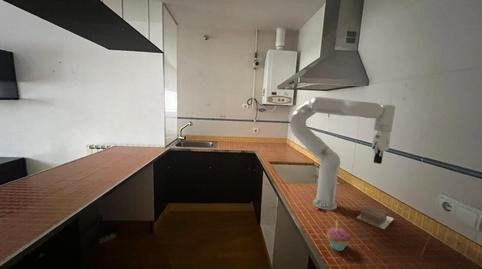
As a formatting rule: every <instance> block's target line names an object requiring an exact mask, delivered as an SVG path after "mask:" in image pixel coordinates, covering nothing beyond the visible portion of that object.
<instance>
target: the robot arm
mask: <svg viewBox="0 0 482 269" xmlns="http://www.w3.org/2000/svg"><path fill="white" fill-rule="evenodd" d="M395 111H396V106H395V105H393V104H380V103H376V102H369V101H359V100H349V99H341V98H333V97H323V96H315V97H312V98H311V99H309V100H308V101H306V102H305V103H303V104H302V105H301V106H299V107H297V108H296V109H294V110H293V111H292V112H291V115H290V121H289V124H290V125H289V128H290V130H291V133H292V134H293V136H294V137H295V138H296V139H297V140H298V141H299V142H300V143H301V144H302V145H303V146H304V147H305V148H306V150H307V151H308V152H309V153H311V154H312V155H314V156H315V158H317V160H319V161H320V166H319V171H318V180H317V189H316V197H315V198H314V199H313V201H312V205H313V206H315V207H317V208H319V209H321V210H326V211H334V210H336V209H337V207H338V205H337V204H336V203H335V199H336V191H337V190H336V189H337V184H338V175H339V170H340V166H341V157H340V156H339V155H338V153H337V152H336V151H334V150H333V149H332V148H330V147H329V145H327V144H326V142H324V140H323V139H321V137H319V136H318V135H316V134H315V132H313V131H312V130H311V129H310V128H309V127H308V125H307V120H308V119H309V118H311V117H312V116H314V115H315V114H316V113H319V114H325V115H334V116H343V117H357V118H365V119H375V120H374V125H373V126H374V128H373V131H374V134H373V138H372V139H373V140H372V144H371V149H372V150H373V153H374V157H373V163H375V164H379V165H381V164H382V162H383V157H384V152H386V151H389V149H390V142H391V133H392V129H393V124H394V123H393V122H394V118H395Z"/></svg>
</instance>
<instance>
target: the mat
mask: <svg viewBox="0 0 482 269" xmlns="http://www.w3.org/2000/svg"><path fill="white" fill-rule="evenodd" d="M360 216H361V214H359V215H358V216H357V217H356V219H358V220H360ZM394 219H395V218H393V217H391V216H388V215H387V219H386V220H385V221H384V223H383V224H382V225H381V226H380V227H379V228H380V229H383V230H385V229H386V228H387V227H388V226H389V225H390V224H391V223H392V221H393V220H394Z"/></svg>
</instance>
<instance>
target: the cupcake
mask: <svg viewBox="0 0 482 269" xmlns="http://www.w3.org/2000/svg"><path fill="white" fill-rule="evenodd" d="M338 226H339V221H338V219H336V220H335V227H331V228H329V229H327V231H326V237H327V239H328V240H329V244H330V247H331V248H332V249H334V250H335V251H339V252H342V251H344V249H345V248H346V247H347V245H350V243H351V236H350V234H348V232H347V231H345V229H344V228H343V229H342V228H340V227H338Z"/></svg>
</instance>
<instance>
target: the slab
mask: <svg viewBox="0 0 482 269" xmlns="http://www.w3.org/2000/svg"><path fill="white" fill-rule="evenodd" d="M360 215H361V216H360V219H359V221H362V222H365V223H367V224H369V225H371V226H373V227H377V228H380V226H381V225H382V224H383V223H384V221H385V220H386V219H387V216H388V211H385V210H383V209H380V208H377V207H374V206H371V205H369V206H367V207H366V208H364V209H363V210H362V211H360Z"/></svg>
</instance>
